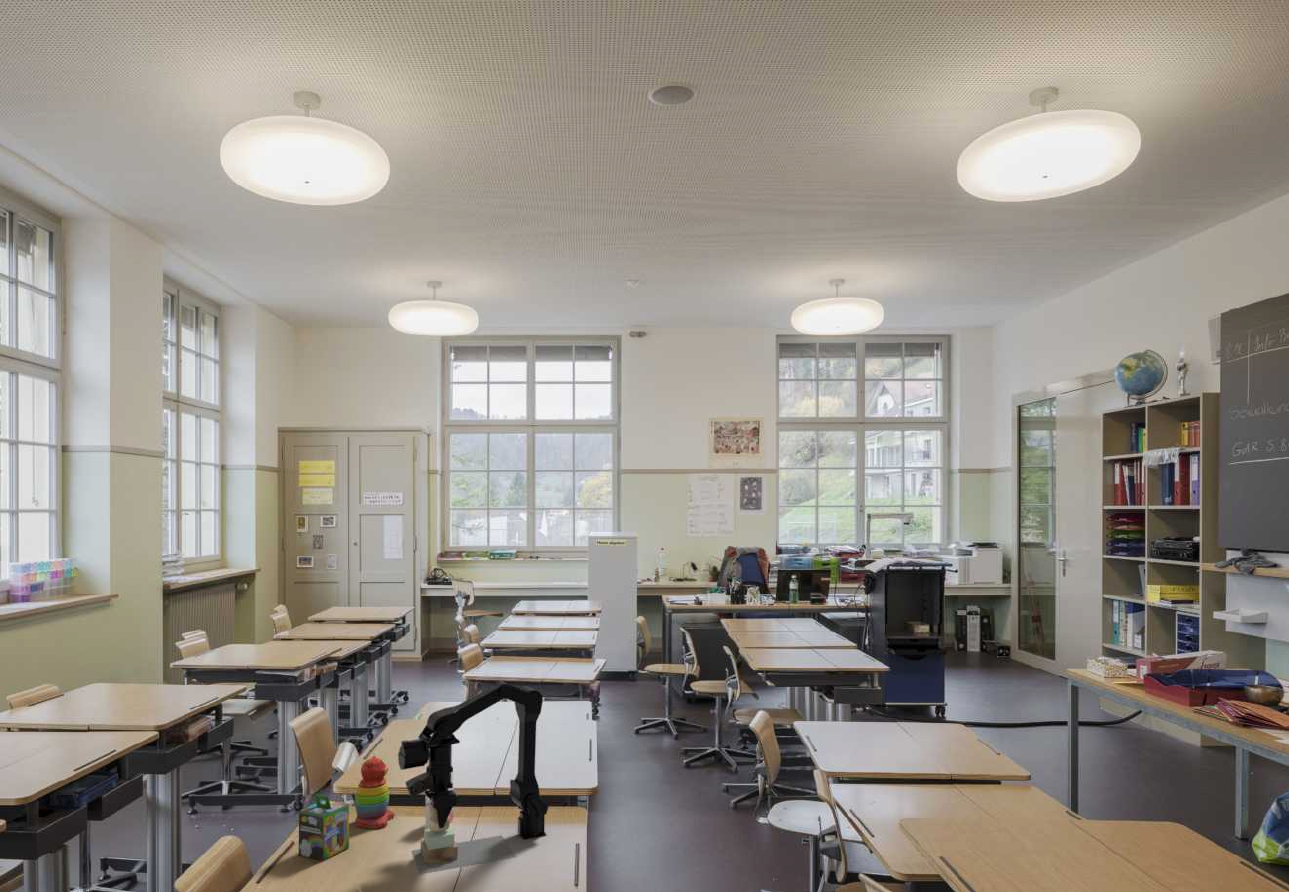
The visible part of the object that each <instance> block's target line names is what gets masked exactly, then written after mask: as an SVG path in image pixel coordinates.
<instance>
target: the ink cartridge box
mask: <svg viewBox="0 0 1289 892" xmlns="http://www.w3.org/2000/svg"><path fill="white" fill-rule="evenodd" d="M451 782H452V784H453V788H449V789H448V790H453V791H454V786H455V784H454V783H455V782H454V771H453V772H451ZM426 791H428V790H426ZM454 792H455V791H454ZM430 803H431V799H430V798H429V797H427V796H426V795H425V829H428V828H429V815H430V807H431V804H430ZM453 820H454V807H453V808H452V810H451V812H450V814H449V824H450V823H451V822H452V821H453Z"/></svg>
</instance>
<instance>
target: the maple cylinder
mask: <svg viewBox="0 0 1289 892" xmlns="http://www.w3.org/2000/svg"><path fill="white" fill-rule="evenodd" d="M449 825H450V823H449V816H448V819H447V821H446V823H445V825H444V828H439V825H438V819H437V812H436V809H434V808H433V807H432V806H431V807H430V815H429V829H430V830H431V831H444V830H446V829H448V828H449Z"/></svg>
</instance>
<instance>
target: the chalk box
mask: <svg viewBox="0 0 1289 892" xmlns="http://www.w3.org/2000/svg"><path fill="white" fill-rule="evenodd" d="M314 799H315V803H313V804H311V805H309V806H308V807H305V808H303V809H301V810H299V811H298V856H302V857H305V858H310V859H313V860H318V861H322V862H324V861H326V860H328V859H329V858H331V857H333V856H335V855H337V854H339V853H341V852H343V851H345V850H347V849H348V848H350V828H349V827H350V803H347V802H341V801H334V800H330V798H329V796H327V795H323V794H317V793H316V794H315V795H314Z"/></svg>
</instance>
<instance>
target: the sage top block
mask: <svg viewBox="0 0 1289 892" xmlns="http://www.w3.org/2000/svg"><path fill="white" fill-rule="evenodd" d="M423 831H424V833H423V836H424V837H423V840H424V842H425V844H426V846H427V849H428V851H429V850H434V849H440V848H446V847H452V846H454V841H455V833H454V830H453V829H452V827H451V825H450V824H449V828H448V829H446V830H444V831H431V830H430V829H429V828H424V829H423Z"/></svg>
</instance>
